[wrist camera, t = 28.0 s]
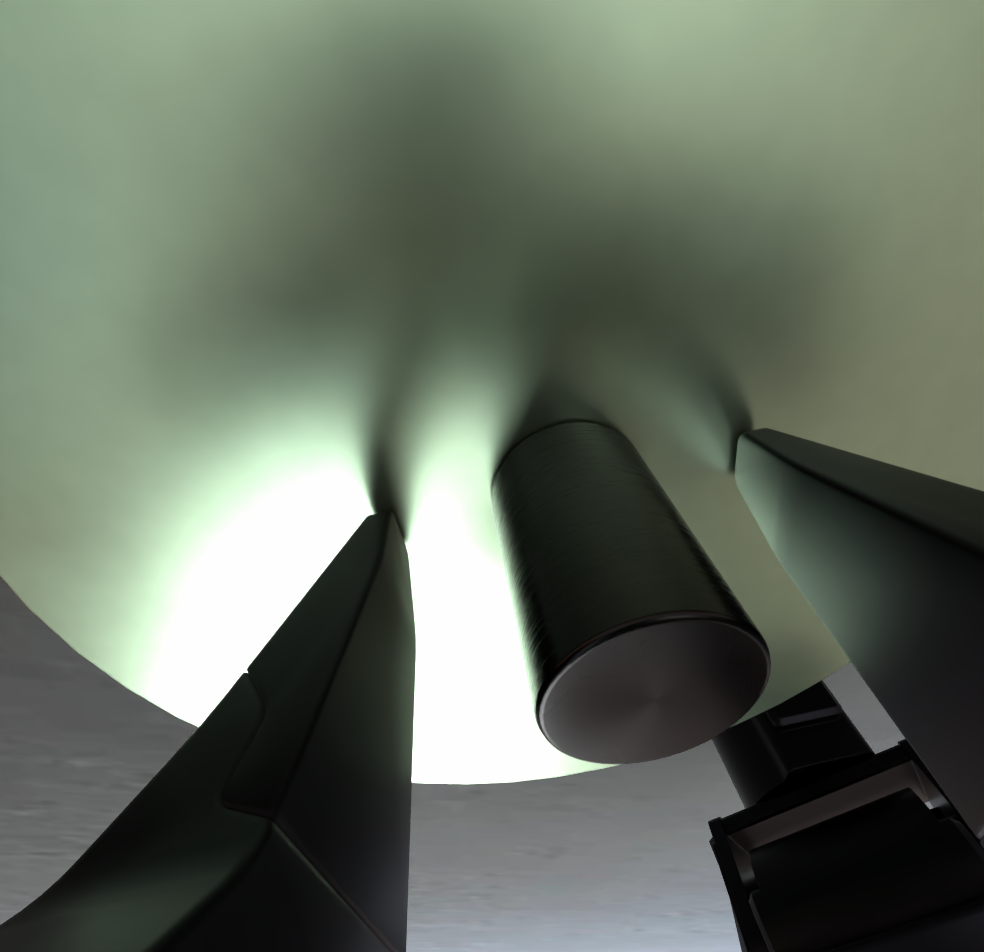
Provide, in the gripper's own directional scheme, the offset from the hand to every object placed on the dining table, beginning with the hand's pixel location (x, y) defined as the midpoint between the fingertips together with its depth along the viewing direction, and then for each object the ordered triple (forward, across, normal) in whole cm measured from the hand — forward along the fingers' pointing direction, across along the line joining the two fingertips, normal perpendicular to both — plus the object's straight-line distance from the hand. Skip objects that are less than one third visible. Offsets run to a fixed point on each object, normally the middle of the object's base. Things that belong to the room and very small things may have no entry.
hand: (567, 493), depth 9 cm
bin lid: (+1, 0, 0) cm, 1 cm away
